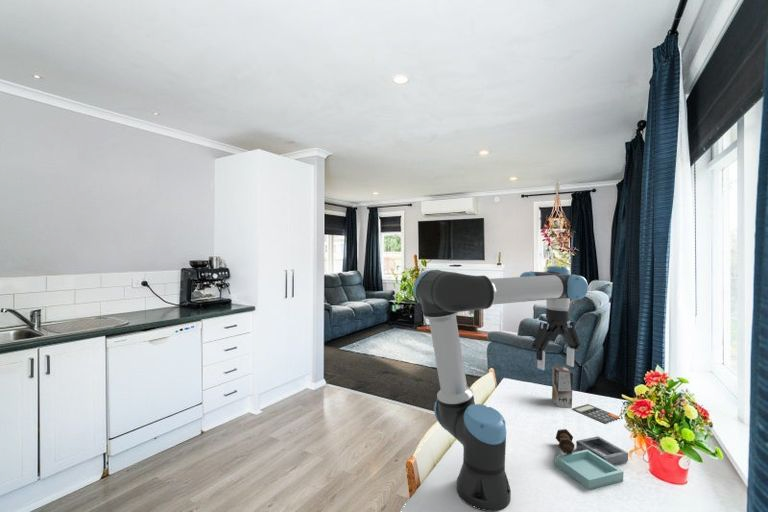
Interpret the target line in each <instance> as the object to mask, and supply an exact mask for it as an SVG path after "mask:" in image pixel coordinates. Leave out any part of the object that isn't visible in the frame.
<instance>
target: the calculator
mask: <svg viewBox="0 0 768 512" xmlns="http://www.w3.org/2000/svg"><path fill="white" fill-rule="evenodd" d="M571 409H573V410H572V411H575V412H577V413H579V414H582V415H584V416H586V417H589V418H590V419H593V420H594V421H598V422H600V423H602V424H605V425H607V424H609V422H610V423H613V422H615V421H614V420H616V419H619V420H621V419H620V418H619V417H620V416H619V415H617V414H613V413H611V412H608V411H606V410H604V409H602V408H599V407H597V406H594V405H591V404H588V403H587V404H584V405H580V406H575V407H572V408H571ZM612 421H613V422H612ZM616 421H617V420H616Z"/></svg>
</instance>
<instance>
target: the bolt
mask: <svg viewBox="0 0 768 512" xmlns="http://www.w3.org/2000/svg"><path fill="white" fill-rule="evenodd" d="M555 439H556V441H558V447H559V448H560V450H561V451H562V452H563V454H571V453H573V452H574V449H575V447H576V445H575V443H574V442H573V440H574V436H573V435H572V434H571V432H569V430H568V429H564V428H563V429H558V430H557V432H556V435H555Z"/></svg>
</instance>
